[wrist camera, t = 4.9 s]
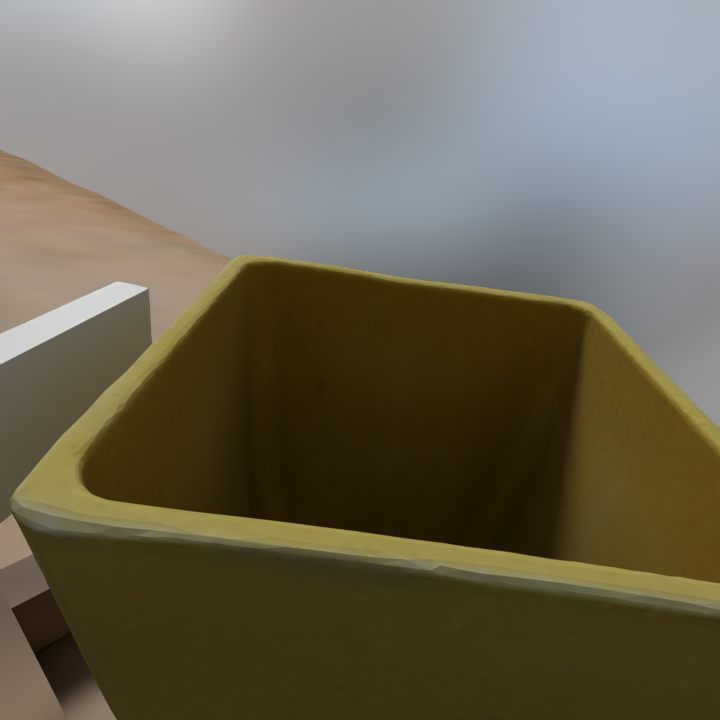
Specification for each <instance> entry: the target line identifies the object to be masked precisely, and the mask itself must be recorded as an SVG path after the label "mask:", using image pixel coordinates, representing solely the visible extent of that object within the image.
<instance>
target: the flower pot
mask: <svg viewBox="0 0 720 720" xmlns="http://www.w3.org/2000/svg"><path fill="white" fill-rule="evenodd" d="M9 502H10V507H11V512H12V514H13V516H14V518H15V519H16V521H17V523H18V525H19V527H20V529H21V531H22V533H23V535H24V537H25V539H26V541H27V543H28V545H29V547H30V549H31V551H32V553H33V555H34V558H35V560H36V562H37V564H38V566H39V568H40V569H41V571H42V573H43V575H44V577H45V580H46V582H47V584H48V586H49V588H50V590H51V592H52V594H53V596H54V599H55V601H56V603H57V604H58V606H59V608H60V610H61V612H62V614H63V616H64V618H65V621H66V623H67V625H68V627H69V629H70V631H71V633H72V635H73V637H74V639H75V641H76V643H77V645H78V648H79V650H80V652H81V654H82V656H83V658H84V660H85V662H86V664H87V666H88V667H89V669H90V671H91V673H92V675H93V677H94V679H95V681H96V683H97V684H98V686H99V688H100V690H101V692H102V694H103V696H104V698H105V700H106V702H107V703H108V705H109V707H110V709H111V711H112V712H113V714H114V716H115V717H116V719H117V720H720V428H719V427H718V426H717V425H716V424H715V423H714V422H712V421H711V420H710V419H709V418H708V417H707V416H706V415H705V414H704V413H703V412H702V411H701V410H700V409H699V408H698V407H697V406H696V405H695V404H694V403H693V402H692V401H691V400H690V399H689V398H688V397H687V395H685V393H683V391H682V390H681V389H679V387H678V386H677V385H676V384H675V383H674V382H673V381H672V380H671V379H669V377H668V376H667V375H666V374H665V373H664V372H663V371H662V370H661V369H660V368H659V367H658V366H657V365H656V364H655V363H654V362H653V361H652V360H651V359H650V358H649V357H648V355H646V353H645V352H644V351H643V350H642V349H641V348H640V347H639V346H638V345H637V344H636V343H635V341H634V340H633V339H632V338H631V337H630V336H629V335H628V334H627V333H625V332H624V331H623V330H622V329H621V328H620V327H619V326H618V325H617V323H616V322H615V321H614V320H613V319H612V318H611V317H609V316H608V315H607V314H605V313H604V312H602V311H601V310H599V309H598V308H596V307H595V306H593V305H592V304H590V303H587V302H582V301H577V300H571V299H565V298H559V297H552V296H545V295H538V294H529V293H522V292H512V291H504V290H496V289H489V288H483V287H474V286H468V285H461V284H450V283H441V282H432V281H425V280H417V279H410V278H403V277H396V276H389V275H384V274H378V273H373V272H367V271H362V270H356V269H350V268H344V267H338V266H330V265H323V264H316V263H309V262H303V261H296V260H289V259H281V258H273V257H260V256H251V255H241V256H238V257H236V258H235V259H233V260H232V261H230V262H229V263H228V264H227V265H226V266H225V267H224V268H223V269H222V271H221V272H220V273H219V274H218V275H217V276H216V277H215V278H214V279H213V280H212V281H211V282H210V283H209V284H208V285H207V287H206V288H205V289H204V290H203V291H202V292H201V294H200V295H199V296H198V297H197V298H196V299H195V300H194V302H193V303H192V304H190V305H189V306H188V307H187V308H186V309H185V310H184V311H183V312H182V313H181V314H180V315H179V317H178V318H177V319H176V320H175V321H174V322H173V323H172V324H171V325H170V326H169V327H168V328H167V330H166V331H165V332H164V333H163V334H162V335H161V336H160V337H159V338H158V339H157V340H156V341H154V342H153V343H152V344H151V345H150V346H149V347H148V348H147V350H146V351H145V352H144V353H143V354H142V355H141V356H140V357H139V358H138V359H137V361H136V362H135V363H134V364H133V365H132V366H131V367H130V368H129V369H128V370H127V371H126V372H125V373H124V374H123V375H122V376H121V377H120V378H119V379H118V380H116V381H115V382H114V383H113V384H112V385H111V386H110V387H109V388H107V389H106V390H105V391H104V392H103V393H102V394H101V395H100V397H99V398H98V399H97V400H96V401H95V402H94V403H93V405H92V406H91V407H90V408H89V409H88V410H87V411H86V412H85V413H84V414H83V415H82V416H81V417H80V418H79V419H78V420H77V421H76V422H75V423H74V424H73V425H72V426H71V427H70V428H69V429H68V430H67V431H66V432H65V433H64V434H63V435H62V436H61V437H60V438H59V439H58V441H57V442H56V443H55V444H54V445H53V446H52V448H51V449H50V450H49V451H48V452H47V453H46V455H45V456H44V457H43V458H42V459H41V460H40V461H39V463H38V464H37V465H36V466H35V468H34V469H33V470H32V471H31V473H30V474H29V475H28V476H27V477H26V478H25V480H24V481H23V482H22V483H21V484H20V485H19V487H18V488H17V489H16V490H15V492H14V494H13V495H12V497H11V499H10V500H9Z"/></svg>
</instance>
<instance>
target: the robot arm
mask: <svg viewBox="0 0 720 720" xmlns="http://www.w3.org/2000/svg"><path fill="white" fill-rule="evenodd" d="M151 344H152V338H151V320H150V302H149V288H145V287H141V286H136V285H132V284H127V283H123V282H119V281H117V282H115V283H113V284H110V285H108V286H106V287H104V288H101V289H99V290H97V291H95V292H93V293H90V294H88V295H86V296H84V297H81V298H79V299H77V300H75V301H73V302H70V303H68V304H66V305H64V306H61V307H59V308H57V309H55V310H53V311H50V312H48V313H46V314H44V315H41V316H39V317H37V318H35V319H33V320H30V321H28V322H26V323H24V324H22V325H19V326H17V327H15V328H13V329H10V330H8V331H6V332H4V333H2V334H0V523H1V522H2V521H4V520H5V519H6V518H7V517H8V516H10V515H11V514H12V512H11V507H10V502H9V500H10V499H11V497H12V495H13V494H14V492H15V490H16V489H17V488H18V487H19V485H20V484H21V483H22V482H23V481H24V480H25V478H26V477H27V476H28V475H29V474H30V473H31V471H32V470H33V469H34V468H35V466H36V465H37V464H38V463H39V461H40V460H41V459H42V458H43V457H44V456H45V455H46V453H47V452H48V451H49V450H50V449H51V448H52V446H53V445H54V444H55V443H56V442H57V441H58V439H59V438H60V437H61V436H62V435H63V434H64V433H65V432H66V431H67V430H68V429H69V428H70V427H71V426H72V425H73V424H74V423H75V422H76V421H77V420H78V419H79V418H80V417H81V416H82V415H83V414H84V413H85V412H86V411H87V410H88V409H89V408H90V407H91V406H92V405H93V403H94V402H95V401H96V400H97V399H98V398H99V397H100V395H101V394H102V393H103V392H104V391H105V390H106V389H107V388H109V387H110V386H111V385H112V384H113V383H114V382H115V381H116V380H118V379H119V378H120V377H121V376H122V375H123V374H124V373H125V372H126V371H127V370H128V369H129V368H130V367H131V366H132V365H133V364H134V363H135V362H136V361H137V359H138V358H139V357H140V356H141V355H142V354H143V353H144V352H145V351H146V350H147V348H148V347H149V346H150V345H151Z"/></svg>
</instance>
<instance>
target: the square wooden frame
mask: <svg viewBox="0 0 720 720" xmlns="http://www.w3.org/2000/svg"><path fill="white" fill-rule="evenodd" d="M69 633H71V631H70V629H69V627H68V625H67V623H66V621H65V618H64V616H63V614H62V612H61V610H60V608H59V606H58V604H57V603H56V601H55V599H54V596H53V594H52V592H51V590H50V588H49V586H48V584H47V582H46V580H45V577H44V575H43V573H42V571H41V569H40V568H39V566H38V564H37V562H36V560H35V558H34V555H31V556H28V557H26V558H24V559H22V560H20V561H18V562H16V563H13V564H11V565H9V566H7V567H5V568H3V569H0V720H68V719H67V718H66V716H65V714H64V712H63V710H62V708H61V706H60V704H59V702H58V700H57V698H56V696H55V694H54V692H53V690H52V688H51V686H50V684H49V682H48V680H47V678H46V676H45V674H44V672H43V670H42V668H41V666H40V664H39V663H38V661H37V659H36V657H35V655H34V654H35V653H36V652H38V651H40V650H42V649H43V648H45V647H47V646H48V645H50V644H52V643H54V642H55V641H57V640H59V639H60V638H62V637H64V636H65V635H67V634H69Z"/></svg>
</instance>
